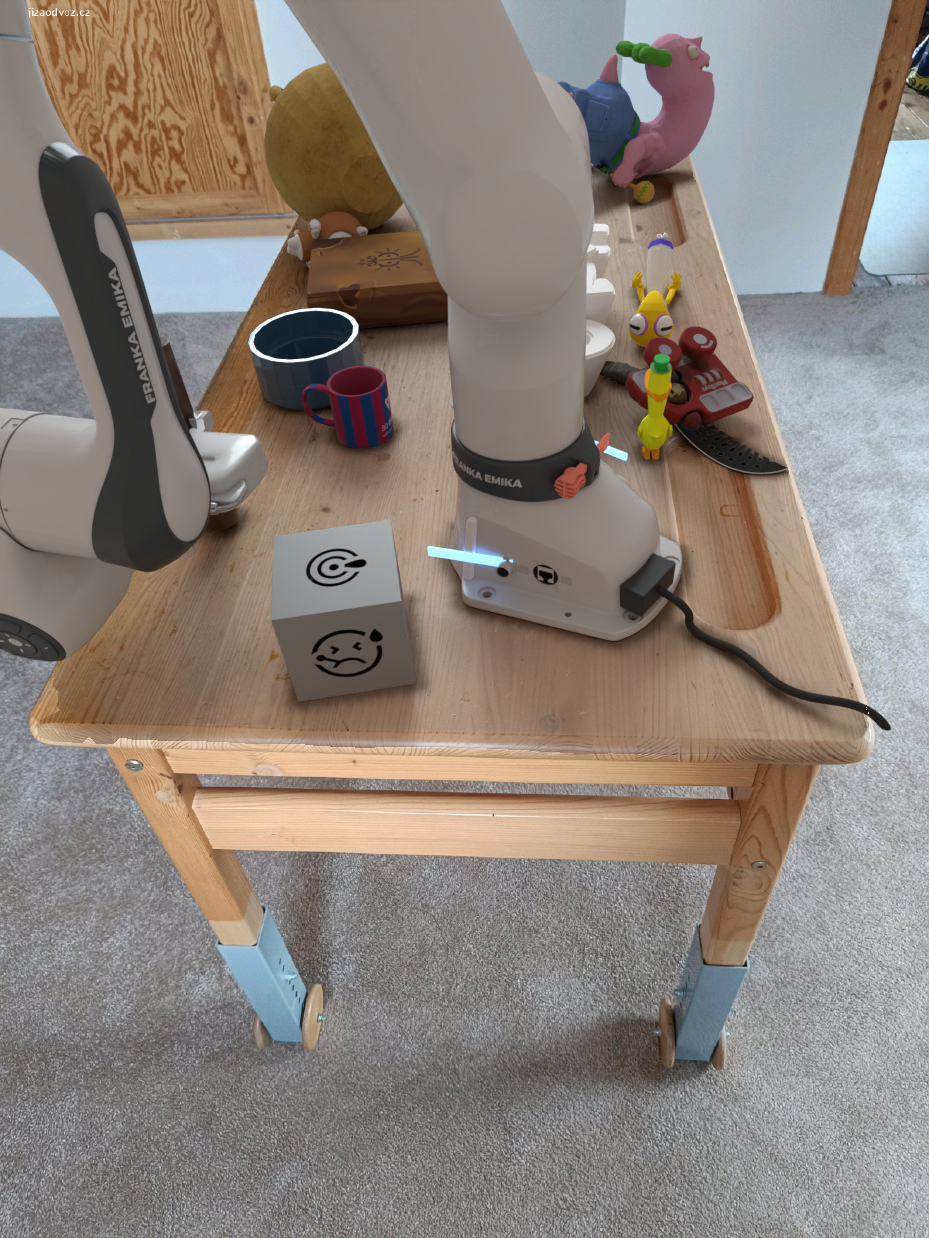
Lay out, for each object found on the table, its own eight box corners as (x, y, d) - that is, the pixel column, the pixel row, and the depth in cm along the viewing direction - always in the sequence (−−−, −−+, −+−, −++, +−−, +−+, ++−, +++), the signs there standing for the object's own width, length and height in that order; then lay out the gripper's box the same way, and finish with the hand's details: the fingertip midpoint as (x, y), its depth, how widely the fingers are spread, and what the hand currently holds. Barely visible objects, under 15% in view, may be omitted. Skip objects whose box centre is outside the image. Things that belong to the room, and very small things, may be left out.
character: (686, 227, 114) (683, 276, 99) (678, 302, 120) (673, 358, 105) (639, 226, 115) (628, 274, 100) (633, 300, 121) (622, 356, 106)
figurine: (300, 254, 121) (378, 243, 125) (281, 203, 123) (359, 194, 127) (296, 296, 129) (369, 285, 133) (279, 247, 131) (352, 238, 135)
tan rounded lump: (353, 54, 113) (291, -3, 131) (259, 209, 122) (213, 135, 140) (472, 161, 130) (402, 97, 147) (381, 290, 139) (326, 215, 157)
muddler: (246, 514, 89) (188, 337, 75) (220, 536, 87) (154, 358, 72) (220, 503, 91) (157, 328, 76) (193, 524, 88) (123, 348, 74)
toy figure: (631, 436, 95) (639, 337, 86) (663, 435, 94) (675, 335, 86) (637, 472, 90) (647, 371, 81) (671, 471, 90) (684, 369, 81)
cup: (385, 451, 96) (376, 398, 91) (302, 445, 98) (290, 394, 93) (400, 418, 100) (392, 366, 96) (321, 414, 102) (309, 363, 97)
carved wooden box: (314, 337, 116) (305, 296, 112) (319, 278, 129) (311, 240, 125) (480, 320, 116) (478, 278, 112) (468, 263, 129) (466, 224, 125)
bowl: (388, 373, 108) (380, 321, 103) (320, 425, 101) (308, 372, 96) (309, 350, 114) (298, 300, 109) (240, 397, 106) (225, 346, 101)
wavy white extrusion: (502, 284, 123) (500, 209, 115) (617, 284, 121) (622, 207, 113) (468, 418, 99) (462, 334, 92) (610, 421, 97) (615, 335, 89)
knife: (753, 494, 88) (788, 474, 89) (756, 481, 86) (791, 461, 88) (583, 378, 104) (615, 363, 105) (583, 366, 103) (615, 350, 104)
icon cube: (404, 602, 79) (390, 519, 71) (415, 683, 72) (401, 600, 65) (297, 618, 78) (273, 536, 71) (298, 701, 71) (270, 620, 64)
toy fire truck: (626, 345, 90) (684, 412, 87) (712, 317, 95) (771, 380, 91) (607, 392, 96) (661, 457, 93) (689, 364, 101) (743, 424, 97)
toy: (544, -3, 139) (701, 38, 148) (510, 159, 152) (656, 187, 162) (596, 5, 120) (772, 51, 129) (553, 189, 134) (714, 219, 143)
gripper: (221, 483, 67) (282, 391, 76) (-2, 467, 71) (81, 381, 80) (242, 543, 72) (297, 449, 81) (31, 525, 76) (106, 438, 85)
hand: (188, 415), depth 81 cm, fingers closed on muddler, 2 cm apart
